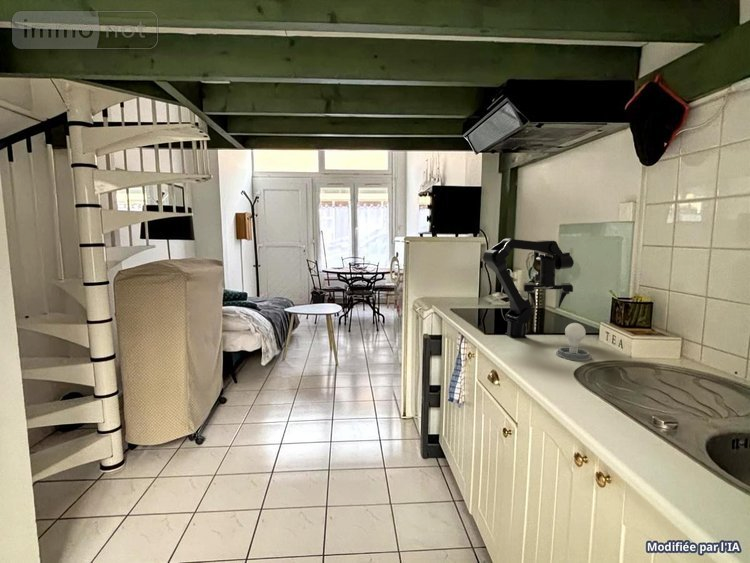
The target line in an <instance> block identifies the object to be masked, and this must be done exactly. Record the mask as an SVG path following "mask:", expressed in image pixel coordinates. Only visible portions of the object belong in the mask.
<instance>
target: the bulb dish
mask: <svg viewBox="0 0 750 563" xmlns="http://www.w3.org/2000/svg"><path fill="white" fill-rule="evenodd" d="M569 348H570V346H561V347H558V348H557V350H556V351H555V355H556V356H557V357H559V358H561V359H564V358H565V359H564V360H568V359H569V360H570V361H576V362H587V361H591V359H592V356H591V355H590V352H589V351H588V350H587V349H582V348H579V347H578V353H577V354H571V353H570V352H569ZM569 360H568V361H569Z"/></svg>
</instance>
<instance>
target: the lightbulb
mask: <svg viewBox="0 0 750 563" xmlns="http://www.w3.org/2000/svg"><path fill="white" fill-rule="evenodd" d="M564 334H565V337H566V338H567V340H568V345H569V347H570V348H569V352H570V353H571V354H577V353H578V348H579V347H580V345H581V342H582V340H583V339H585V337H586V329H585V327H584V326H583V325H582V324H581V323H578V322H571V323H569V324H568V325H566V327H565V330H564Z"/></svg>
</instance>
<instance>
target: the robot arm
mask: <svg viewBox="0 0 750 563" xmlns="http://www.w3.org/2000/svg"><path fill="white" fill-rule="evenodd" d="M513 249H517V250H526V251H527V250H528V251H531V252H535V253H537V254H539V256H537V257H536V258H535V260H536V261H540V270H539V271H540V272H539V273H540V274H539V273H535V274H534V282H535V283H536V282H537V283H538V284H534V282H524V283H523V285H522V289H523V291H524V292H526V294H528V295H529V294H530V297H531V299H532V303H533V305H532V304H531V302H530V299H529V298H527V297H522V295H521V294H520V291H519V289H518V288H517V286H516V284H515V282H514V280H513V278H512V276H511V274H510V272H509V271H508V269H507V257H508V256H509V255H510V253H511V252H512V250H513ZM482 259H483V262H485V264H486V265H487V267H488V268H489V269H491V270H492V271H493V272H494V274H495V275H496V278H497V279H498V281H499V283H500V284H501V287H502V288H503V291H504V292H505V294H506V296H507V298H508V300H509V310H508V312H506V313H505V315H504V316H505V319H506V320H507V330H506V332H505V335H506V336H509V337H510V338H512V339H513V338H514V339H515V338H517V339H518V338H519V339H521V338H528V337H527V328H528V327H527V324H529V323H530V320H531V319H530V318H531V317H532V315H533V313H534V310H533V307H534V308H536V307H537V302H536V293H535V290H559V291H558V292H559V293H558V294H559V295H558V300H557V301H558V302H557V307H558V308H560V307H561V305H562V303H563V301H564V299H565V298H566V296H567V295H569V294H570V293H572V292H574V286H573V285H572V283H571V282H561V283H560V284H556V270H566V269H571V268H573V266H574V259H573V257H572V256H571V252H563V251H562V250H561V248H560V246H559V245H558V242H557V241H556V240H541V239H540V240H536V241H532V240H525V239H524V240H523V239H516V238H515V239H514V238H512V237H511V238H510V237H509V238H504V239H502V240H501V241H500V242H499V243H497V244H495V245H494V246H492V247H491V248H489V249H487V250H486V251H485V252H484V253H483V256H482Z"/></svg>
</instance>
